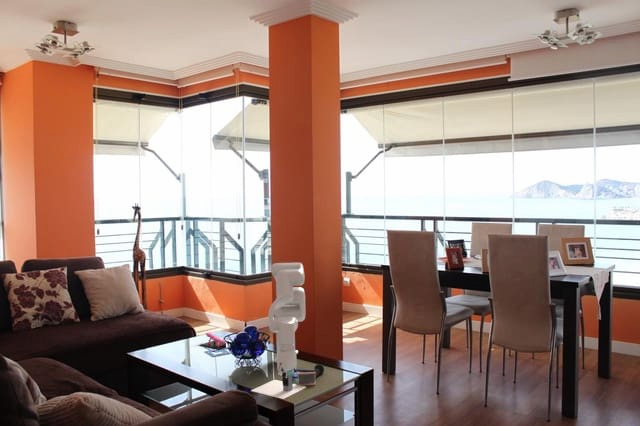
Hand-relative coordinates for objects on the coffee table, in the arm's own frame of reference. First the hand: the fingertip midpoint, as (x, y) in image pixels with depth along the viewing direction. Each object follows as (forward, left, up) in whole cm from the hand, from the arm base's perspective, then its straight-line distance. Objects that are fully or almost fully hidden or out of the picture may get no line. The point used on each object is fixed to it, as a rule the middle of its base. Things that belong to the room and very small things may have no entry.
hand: (288, 384), depth 264 cm
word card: (-11, +3, -3) cm, 12 cm away
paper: (+1, -5, -3) cm, 6 cm away
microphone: (-22, -1, -4) cm, 22 cm away
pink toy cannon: (-40, -88, -4) cm, 97 cm away
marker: (0, 0, -3) cm, 3 cm away
